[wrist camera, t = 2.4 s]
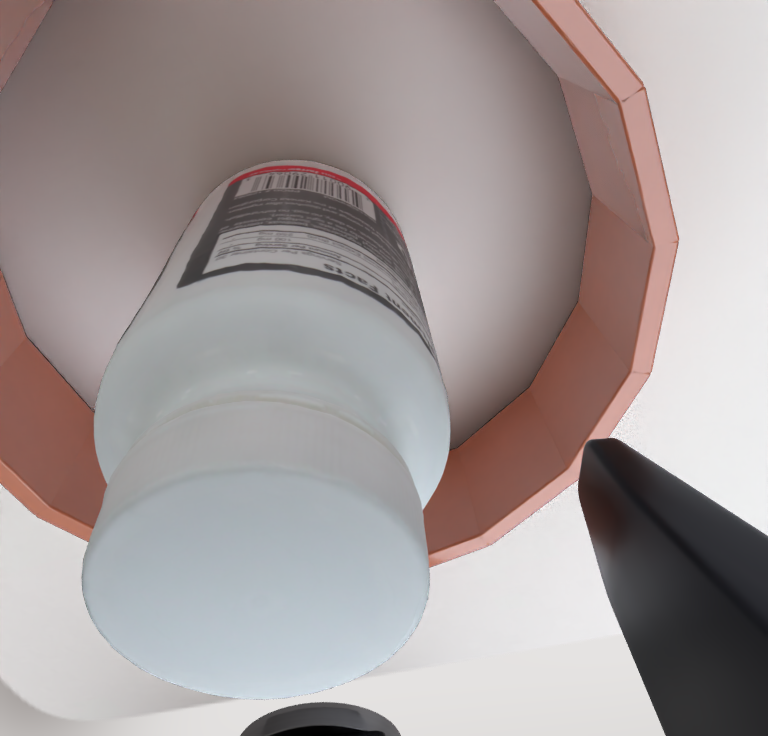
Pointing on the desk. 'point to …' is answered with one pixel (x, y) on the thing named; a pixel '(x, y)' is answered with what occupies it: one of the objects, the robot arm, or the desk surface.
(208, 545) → the pill bottle
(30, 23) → the ring
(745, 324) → the desk surface
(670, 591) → the robot arm
